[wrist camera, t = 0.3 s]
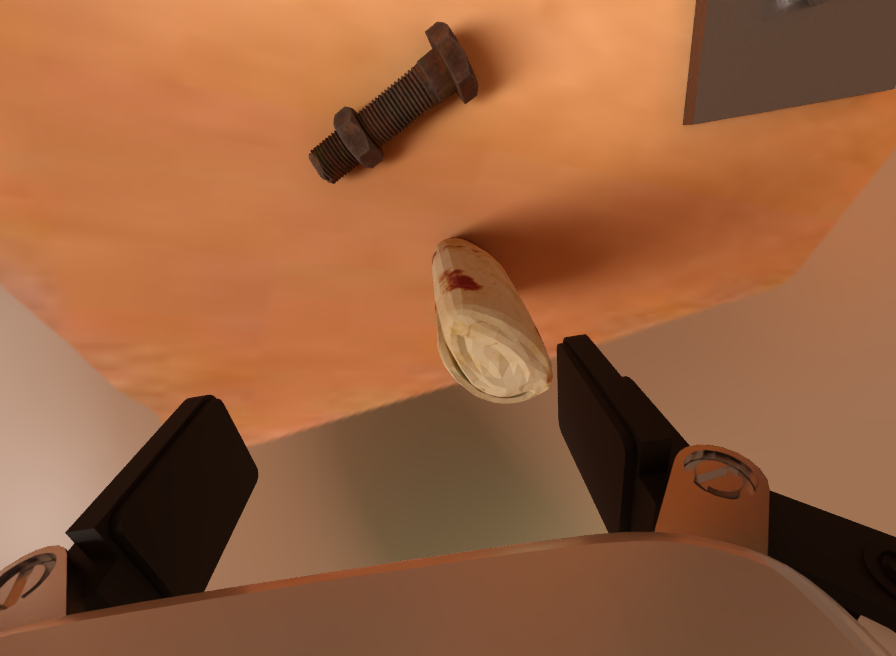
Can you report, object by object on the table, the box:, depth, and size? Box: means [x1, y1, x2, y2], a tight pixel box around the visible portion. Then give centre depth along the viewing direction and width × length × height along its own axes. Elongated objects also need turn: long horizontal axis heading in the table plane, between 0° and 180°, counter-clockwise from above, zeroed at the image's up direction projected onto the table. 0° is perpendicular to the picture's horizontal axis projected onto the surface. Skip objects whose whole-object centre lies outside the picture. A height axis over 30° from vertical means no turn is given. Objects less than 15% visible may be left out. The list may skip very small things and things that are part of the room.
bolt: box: [309, 22, 478, 184], centre depth 32 cm, size 6×5×15 cm
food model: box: [432, 238, 553, 404], centre depth 32 cm, size 10×7×20 cm
